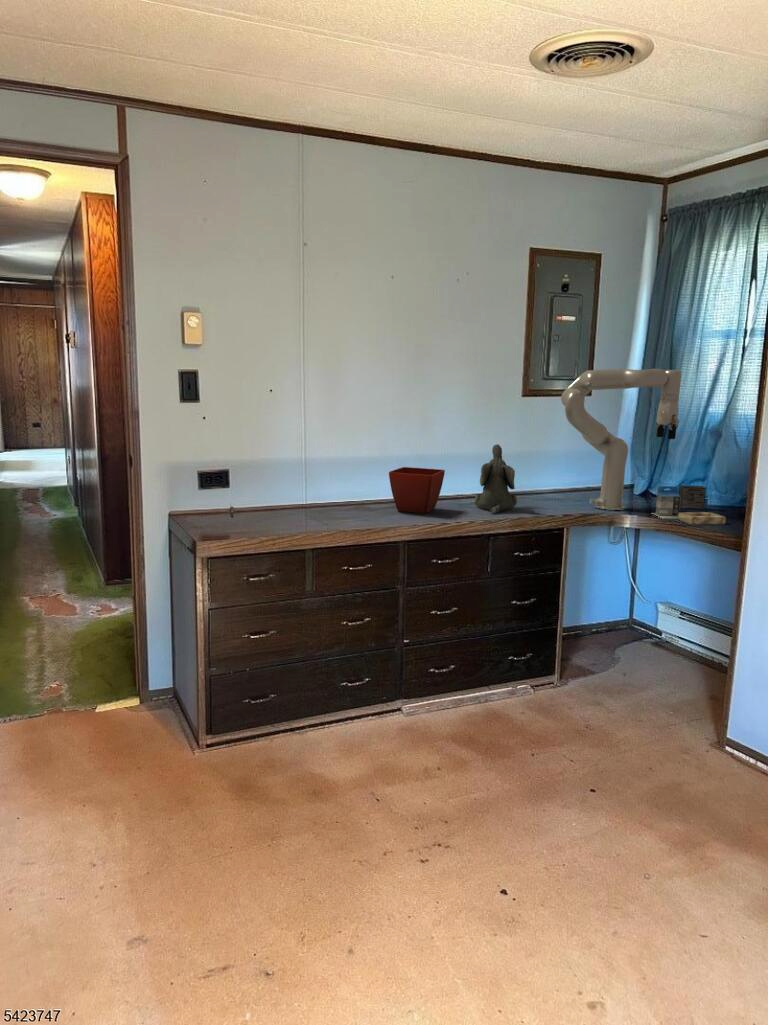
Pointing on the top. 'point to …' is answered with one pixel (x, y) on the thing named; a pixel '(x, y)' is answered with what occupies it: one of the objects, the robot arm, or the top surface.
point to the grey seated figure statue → (496, 484)
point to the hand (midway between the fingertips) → (665, 438)
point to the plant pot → (416, 488)
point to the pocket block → (701, 518)
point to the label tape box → (668, 501)
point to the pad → (666, 516)
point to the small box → (692, 497)
